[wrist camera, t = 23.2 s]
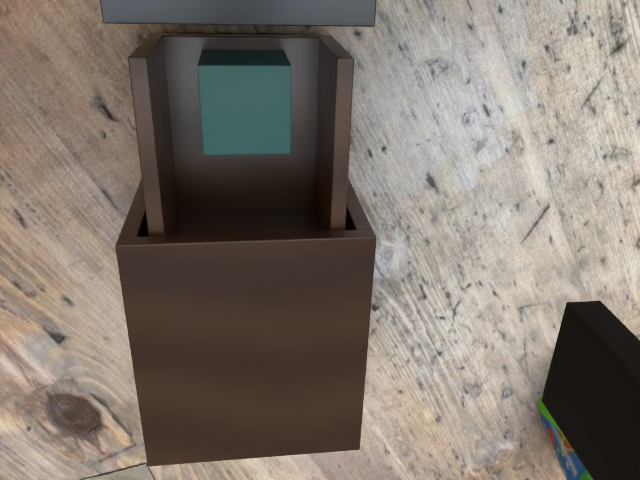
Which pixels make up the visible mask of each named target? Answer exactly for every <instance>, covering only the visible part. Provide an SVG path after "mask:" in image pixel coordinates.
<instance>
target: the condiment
mask: <svg viewBox="0 0 640 480" xmlns="http://www.w3.org/2000/svg"><path fill="white" fill-rule="evenodd" d="M85 480H154V479H153V476H152V474H151V473H150V471H149V470H148V468H147V466H146V464H144V465H140V466H137V467H133V468H128V469H125V470H123V471H118V472H114V473H111V474H106V475H102V476H97V477H92V478H88V479H85Z"/></svg>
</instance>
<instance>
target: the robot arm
mask: <svg viewBox="0 0 640 480" xmlns="http://www.w3.org/2000/svg"><path fill="white" fill-rule="evenodd" d="M541 401H542V403H543V404H544V406H545V407H546V409H547V410H548V412H549V413H550V415H551V416H552V418H553V419H554V421H555V422H556V424H557V426H558V427H559V429H560V430H561V432H562V433H563V435H564V436H565V438H566V439H567V441H568V442H569V444H570V445H571V447H572V448H573V450H574V451H575V453H576V454H577V456H578V457H579V459H580V461H581V462H582V464H583V465H584V467H585V468H586V470H587V471H588V473H589V474H590V476H591V477H592V479H593V480H640V340H639V339H638V338H637V337H636V336H635V335H634V334H633V333H632V332H631V331H630V330H629V329H628V328H627V327H626V326H625V325H624V324H623V323H622V322H621V321H620V320H619V319H618V318H617V317H616V316H615V315H614V314H613V313H612V312H611V311H610V310H609V309H608V308H607V307H606V306H605V305H604V304H603V303H602V302H601V301H588V302H567V304H566V308H565V311H564V315H563V319H562V323H561V327H560V331H559V334H558V338H557V342H556V346H555V350H554V354H553V357H552V361H551V365H550V369H549V373H548V377H547V380H546V384H545V388H544V392H543V396H542V400H541Z"/></svg>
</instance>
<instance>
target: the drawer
mask: <svg viewBox="0 0 640 480" xmlns="http://www.w3.org/2000/svg"><path fill="white" fill-rule="evenodd" d="M100 3H101V11H102V18H103V23H117V24H197V25H278V26H358V27H374V26H375V13H376V0H100ZM202 50H284V51H285V53H286V55H287V58H288V60H289V62H290V64H291V154H253V155H203V146H202V131H201V115H200V100H199V85H198V70H197V66H198V62H199V59H200V56H201V52H202ZM128 62H129V71H130V79H131V88H132V97H133V105H134V114H135V122H136V131H137V139H138V148H139V157H140V165H141V174H142V182H143V191H144V199H145V208H146V217H147V225H148V234H149V237H154V236H185V235H217V234H248V233H280V232H311V231H343V230H345V225H346V206H347V186H348V167H349V148H350V129H351V109H352V90H353V71H354V58H353V57H352V56H351V55H350V54H349V53H348V52H347V51H346V50H345V49H344V48H343V47H342V46H341V45H340V44H339V43H338V42H337V41H336V40H335V39H334V38H333V37H332V36H331V35H249V34H154V33H150V34H149V35H148V36H147V37H146V38H145V39H144V40H143V42H142V43H141V44H140V45H139V46H138V47H137V48H136V49H135V50H134V52H133V53H132V54H131V55H130V56H129V57H128Z"/></svg>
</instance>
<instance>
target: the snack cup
mask: <svg viewBox="0 0 640 480" xmlns="http://www.w3.org/2000/svg"><path fill="white" fill-rule="evenodd" d="M542 396H543V395H542ZM542 396H541V398H540V399H539V401H538V409H539V412H540V413H541V418H542V421H543V425H544V427H545V430H546V433H547V435H548V437H549V439H550V442H551V444H552V446H553V449H554V451H555V453H556V455H557V458H558V461H559V463H560V465H561V468H562V470H563V472H564V475H565V477H566V479H567V480H593V479H592V477H591V476H590V474H589V473H588V471H587V470H586V468H585V467H584V465H583V464H582V462H581V461H580V459H579V457H578V456H577V454H576V453H575V451H574V450H573V448H572V447H571V445H570V444H569V442H568V441H567V439H566V438H565V436H564V435H563V433H562V432H561V430H560V429H559V427H558V426H557V424H556V422H555V421H554V419H553V418H552V416H551V415H550V413H549V412H548V410H547V409H546V407H545V406H544V404H543V403H542V401H541V400H542Z"/></svg>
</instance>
